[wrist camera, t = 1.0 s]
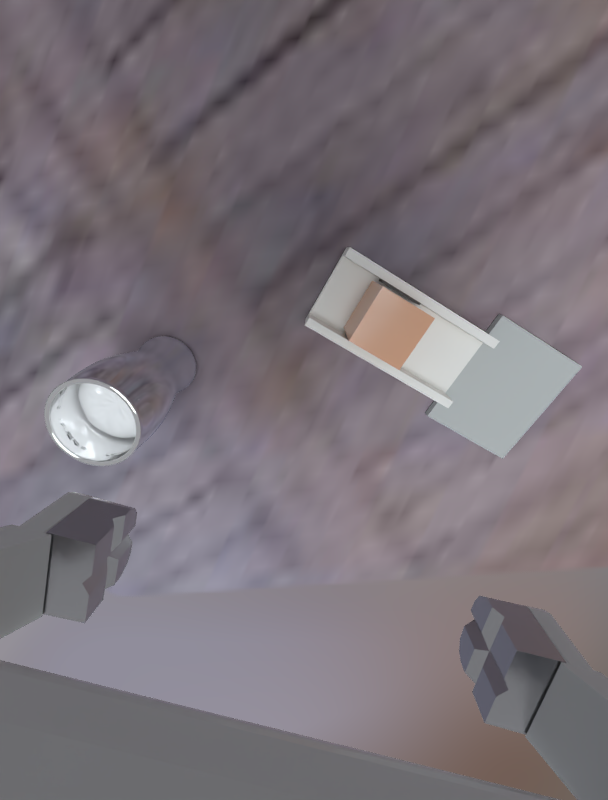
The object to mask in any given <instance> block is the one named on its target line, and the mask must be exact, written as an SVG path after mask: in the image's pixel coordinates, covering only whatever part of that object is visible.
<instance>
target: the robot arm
mask: <svg viewBox="0 0 608 800" xmlns="http://www.w3.org/2000/svg"><path fill="white" fill-rule="evenodd" d="M136 517H137V512H136V509H135V508H132V507H128V506H124V505H121V504H117V503H113V502H110V501H106V500H102V499H99V498H95V497H94V498H93V497H92V496H88V495H84V494H80V493H75V492H68V493H66V494H65V495H63V496H62V497H61V498H59V499H58V500H56V501H55V502H53V503H52V504H51V505H49V506H48V507H46V508H45V509H43V510H42V511H41V512H39V513H38V514H36V515H35V516H33V517H32V518H30V519H29V520H28V521H26V522H25V523H23V524H22V525H20V526H15V525H9V526H4V527H0V639H1V638H3V637H4V636H7V635H9V634H10V633H12V632H14V631H15V630H18V629H20V628H21V627H24V626H25V625H27V624H29V623H31V622H33V621H35V620H37V619H38V618H40V617H42V614H46V615H50V616H54V617H59V618H63V619H68V620H73V621H78V622H82V623H85V622H86V621H87V620H88V618H89V617H90V616H91V615H92V613H93V612H94V611H95V609H96V608H97V607H98V606H99V604H100V603H101V602H102V600H103V597H104V591H105V589H106V588H109V587H111V586H113V585H115V583H116V582H117V581H118V579H119V578H120V577H121V575H122V573H123V571H124V569H125V567H126V565H127V563H128V560H129V556H130V553H131V548H132V541H131V539H130V537H129V535H128V534H129V533H130V531H131V530H132V529H133V528H134V527H135V524H136ZM471 612H472V615H473V617H474V620H473V621H472V622H470V623H469V624H467V625H465V626H464V629H463V632H462V635H461V638H460V650H459V652H460V659H461V663H462V666H463V669H464V671H465V673H466V674H467V675H468V676H469V678H470V679H472V681H473V682H474V683H475V687H474V689H473V691H472V692H473V695H474V697H475V700H476V702H477V705H478V707H479V710H480V713H481V715H482V717H483V720H484V723H487V724H490V725H494V726H497V727H501V728H504V729H508V730H511V731H515V732H518V733H522V734H525V735H526V736H525V737H526V738H527V739H528V741H529V742H530V743H531V744H532V745H533V746H534V748H535V749H536V750H537V751H538V753H539V754H540V755H541V756H542V758H543V759H544V760H545V761H546V762H547V764H548V765H549V766H550V767H551V769H552V770H553V771H554V772H555V773H556V775H557V776H558V777H559V778H560V779H561V781H562V782H563V783H564V784H565V786H566V787H567V788H568V789H569V790H570V792H571V793H572V794H573V795H574V797H575V798H576V799H577V800H608V678H607V677H606V676H605V675H604V674H602V673H601V672H598V671H594V670H593V669H592V668H591V667H590V666H589V664H588V663H587V661H586V660H585V659H584V658H583V656H582V655H581V653H580V652H579V651H578V649H577V648H576V647H575V646H574V644H573V643H572V641H571V640H570V639H569V637H568V636H567V635H566V634H565V632H564V631H563V630H562V628H561V627H560V626H559V624H558V623H557V622H556V620H555V619H554V618H553V616H552V615H551V614H550V613H548V612H547V611H545V610H543V609H538V608H533V607H529V606H524V605H518V604H514V603H510V602H505V601H500V600H496V599H492V598H487V597H483V596H479V597H478V598H477V599H476V600H475V602H474V604H473V607H472V609H471ZM0 800H560V799H556V798H552V797H548V796H543V795H539V794H535V793H532V792H528V791H524V790H520V789H516V788H512V787H508V786H504V785H500V784H496V783H491V782H488V781H484V780H479V779H475V778H471V777H468V776H464V775H460V774H456V773H452V772H448V771H444V770H440V769H436V768H432V767H428V766H424V765H420V764H416V763H412V762H408V761H404V760H400V759H396V758H392V757H388V756H384V755H380V754H376V753H372V752H368V751H364V750H359V749H356V748H352V747H348V746H344V745H339V744H335V743H331V742H327V741H323V740H319V739H315V738H311V737H307V736H303V735H299V734H295V733H290V732H287V731H282V730H279V729H275V728H271V727H267V726H262V725H259V724H254V723H250V722H246V721H242V720H238V719H234V718H230V717H226V716H222V715H218V714H214V713H210V712H206V711H202V710H198V709H194V708H190V707H186V706H182V705H178V704H173V703H170V702H166V701H162V700H158V699H153V698H150V697H146V696H142V695H137V694H134V693H130V692H126V691H122V690H118V689H113V688H110V687H106V686H101V685H98V684H93V683H90V682H86V681H82V680H78V679H73V678H69V677H66V676H61V675H57V674H54V673H50V672H46V671H41V670H38V669H33V668H29V667H25V666H21V665H17V664H13V663H9V662H5V661H1V660H0Z"/></svg>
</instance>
